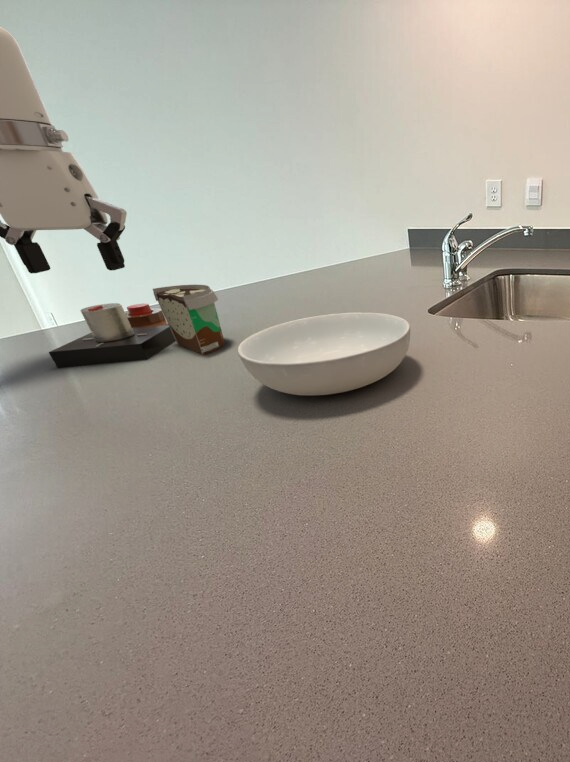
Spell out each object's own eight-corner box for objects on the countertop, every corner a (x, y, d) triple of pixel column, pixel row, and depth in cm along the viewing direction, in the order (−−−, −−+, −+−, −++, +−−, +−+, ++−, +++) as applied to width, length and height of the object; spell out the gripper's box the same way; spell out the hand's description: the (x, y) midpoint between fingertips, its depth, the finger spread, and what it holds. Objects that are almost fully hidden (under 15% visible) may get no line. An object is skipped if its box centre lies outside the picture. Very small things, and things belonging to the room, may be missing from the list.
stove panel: (58, 370, 62) (47, 351, 61) (101, 347, 71) (92, 330, 70) (148, 361, 65) (139, 342, 63) (179, 340, 73) (172, 324, 72)
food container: (247, 346, 70) (228, 288, 65) (208, 358, 65) (184, 296, 61) (213, 335, 76) (193, 281, 71) (174, 345, 71) (150, 288, 67)
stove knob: (108, 333, 68) (92, 302, 66) (140, 331, 69) (127, 300, 67) (88, 343, 64) (71, 310, 61) (123, 340, 65) (107, 307, 62)
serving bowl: (446, 375, 57) (441, 328, 54) (291, 438, 43) (273, 380, 40) (369, 342, 70) (362, 303, 67) (232, 383, 56) (215, 336, 53)
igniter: (105, 342, 73) (95, 321, 72) (131, 329, 80) (122, 309, 79) (168, 337, 75) (159, 316, 74) (188, 324, 82) (181, 305, 81)
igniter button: (126, 317, 75) (122, 308, 74) (136, 313, 77) (132, 304, 77) (146, 316, 75) (142, 307, 74) (156, 311, 78) (152, 302, 77)
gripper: (113, 143, 59) (158, 264, 67) (-35, 140, 56) (30, 268, 63) (77, 137, 53) (131, 272, 60) (-94, 134, 49) (-14, 278, 57)
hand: (79, 270), depth 62 cm, fingers open, 9 cm apart
